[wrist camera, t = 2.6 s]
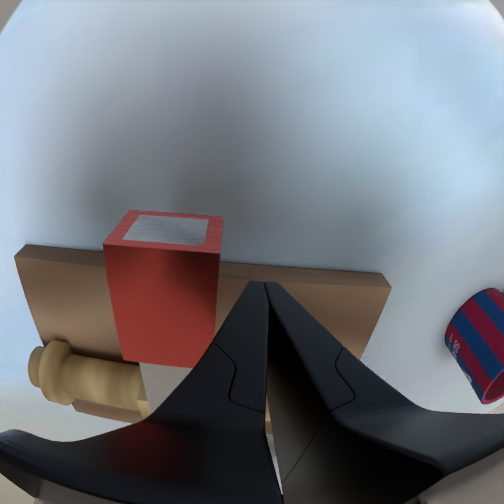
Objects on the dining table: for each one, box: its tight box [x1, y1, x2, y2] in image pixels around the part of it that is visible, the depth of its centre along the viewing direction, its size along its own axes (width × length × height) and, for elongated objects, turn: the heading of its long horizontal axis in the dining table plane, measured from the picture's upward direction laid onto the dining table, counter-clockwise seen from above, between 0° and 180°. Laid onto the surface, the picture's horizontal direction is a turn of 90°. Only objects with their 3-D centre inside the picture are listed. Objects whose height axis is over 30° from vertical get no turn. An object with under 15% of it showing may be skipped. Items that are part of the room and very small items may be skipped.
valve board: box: [14, 245, 392, 434], centre depth 17 cm, size 16×22×6 cm
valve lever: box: [103, 210, 223, 413], centre depth 11 cm, size 14×3×2 cm, turn 173°
